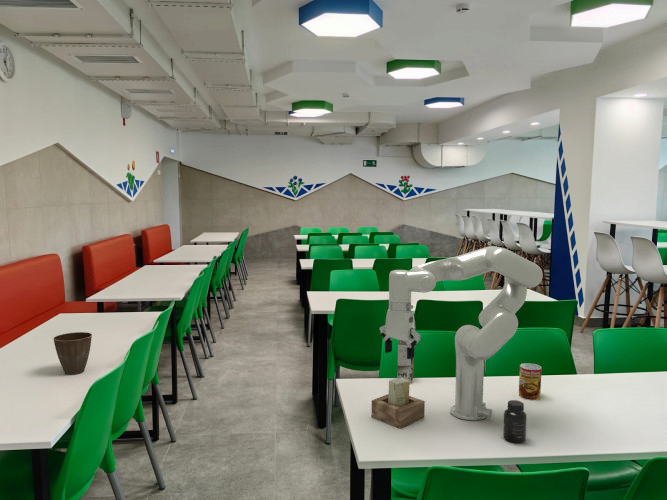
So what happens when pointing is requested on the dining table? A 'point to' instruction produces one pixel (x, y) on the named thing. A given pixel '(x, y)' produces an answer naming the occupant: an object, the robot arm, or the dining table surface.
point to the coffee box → (404, 362)
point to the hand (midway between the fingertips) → (399, 355)
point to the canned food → (530, 381)
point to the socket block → (398, 411)
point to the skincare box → (398, 392)
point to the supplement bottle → (515, 422)
